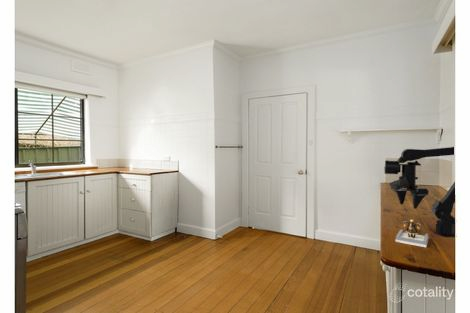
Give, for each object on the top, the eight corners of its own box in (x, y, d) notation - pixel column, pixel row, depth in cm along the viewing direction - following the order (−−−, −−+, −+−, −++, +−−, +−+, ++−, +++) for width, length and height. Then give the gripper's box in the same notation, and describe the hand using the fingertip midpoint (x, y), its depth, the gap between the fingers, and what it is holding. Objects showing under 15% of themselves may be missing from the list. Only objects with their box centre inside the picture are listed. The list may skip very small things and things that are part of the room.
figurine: (401, 235, 119) (403, 217, 118) (412, 234, 119) (413, 217, 118) (409, 239, 114) (410, 221, 113) (420, 239, 114) (421, 221, 113)
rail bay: (400, 233, 124) (400, 229, 124) (428, 238, 117) (428, 233, 117) (395, 241, 114) (395, 236, 114) (426, 247, 107) (426, 242, 107)
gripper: (381, 173, 137) (380, 202, 137) (405, 176, 118) (405, 211, 119) (401, 172, 137) (401, 202, 138) (429, 176, 119) (429, 210, 119)
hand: (408, 206), depth 128 cm, fingers open, 9 cm apart
